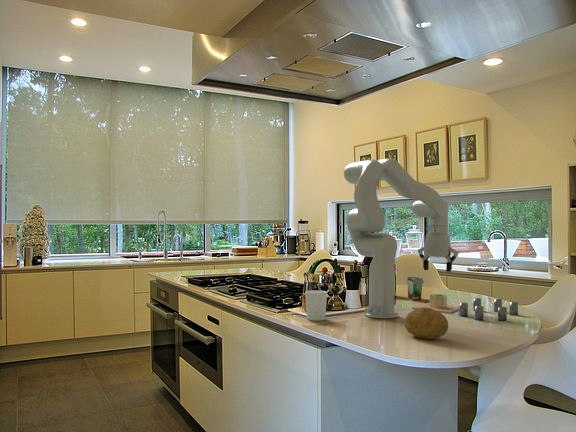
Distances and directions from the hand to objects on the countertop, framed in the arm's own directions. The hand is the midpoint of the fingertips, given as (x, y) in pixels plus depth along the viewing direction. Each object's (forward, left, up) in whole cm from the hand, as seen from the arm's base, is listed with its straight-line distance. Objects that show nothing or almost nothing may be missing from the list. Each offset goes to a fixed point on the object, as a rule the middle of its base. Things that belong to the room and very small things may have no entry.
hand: (437, 270), depth 199 cm
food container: (+20, +18, -16) cm, 31 cm away
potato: (-54, -18, -16) cm, 59 cm away
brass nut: (+1, 0, -15) cm, 15 cm away
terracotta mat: (+1, 0, -16) cm, 16 cm away
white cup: (-52, +25, -16) cm, 60 cm away
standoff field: (-1, -21, -16) cm, 26 cm away
